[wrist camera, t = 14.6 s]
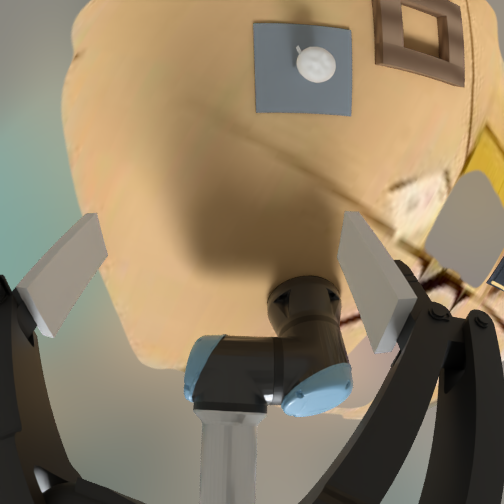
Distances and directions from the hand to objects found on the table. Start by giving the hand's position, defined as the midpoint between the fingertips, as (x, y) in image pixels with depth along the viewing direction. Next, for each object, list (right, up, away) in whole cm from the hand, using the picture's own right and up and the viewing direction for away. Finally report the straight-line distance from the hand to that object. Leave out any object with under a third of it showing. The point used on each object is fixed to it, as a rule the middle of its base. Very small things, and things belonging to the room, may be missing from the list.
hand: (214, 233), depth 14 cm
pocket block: (+28, +34, +13) cm, 46 cm away
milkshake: (+9, +25, +18) cm, 32 cm away
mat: (+9, +25, +19) cm, 33 cm away
